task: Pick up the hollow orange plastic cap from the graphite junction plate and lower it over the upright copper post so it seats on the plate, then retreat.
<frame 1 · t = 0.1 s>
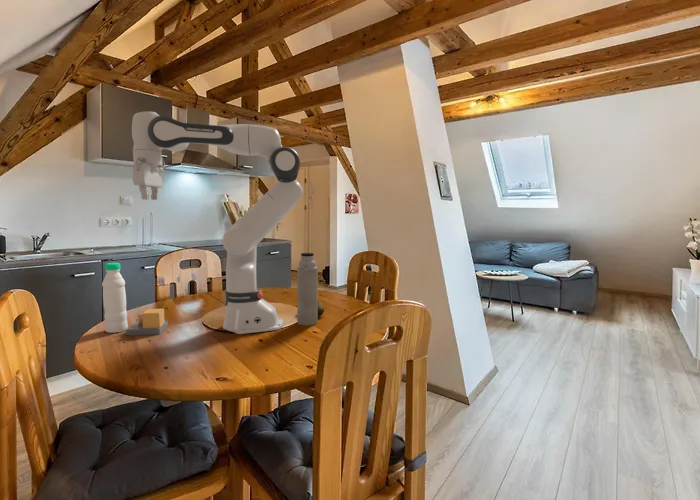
hand: (150, 199, 133), 48 cm above the table, fingers open, 8 cm apart
thermos bottle: (307, 322, 149), on the table
orange cap: (154, 325, 137), point 2 cm above the table, touching junction plate
junction plate: (148, 330, 138), on the table
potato: (312, 314, 161), on the table
white milk bottle: (116, 330, 137), on the table
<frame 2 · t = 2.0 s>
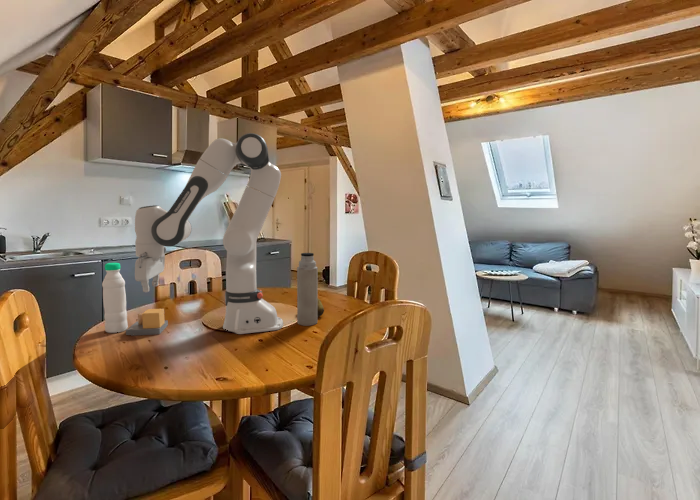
hand: (150, 288, 135), 16 cm above the table, fingers open, 8 cm apart
nothing on the table moved.
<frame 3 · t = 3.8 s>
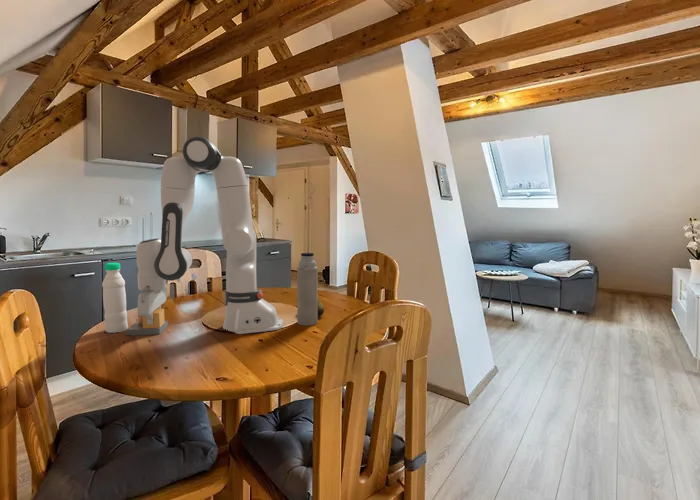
hand: (153, 320, 137), 4 cm above the table, fingers closed on orange cap, 6 cm apart
orange cap: (154, 325, 137), point 2 cm above the table, touching gripper, junction plate
everything else where it was.
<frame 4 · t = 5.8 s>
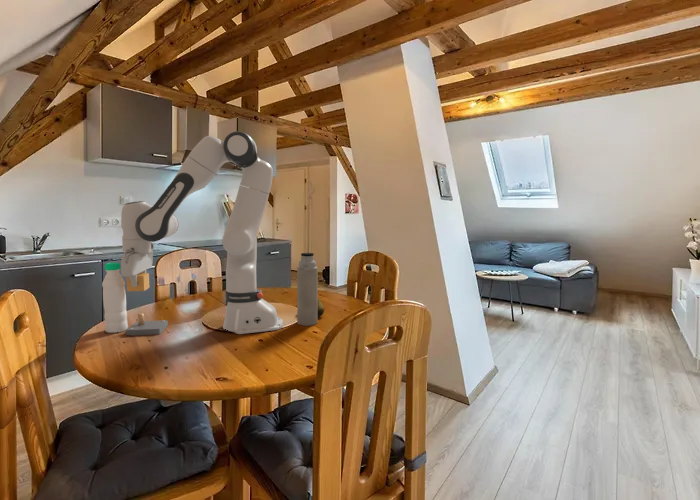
hand: (138, 284, 136), 17 cm above the table, fingers closed on orange cap, 6 cm apart
orange cap: (138, 289, 136), point 15 cm above the table, touching gripper
everything else where it was.
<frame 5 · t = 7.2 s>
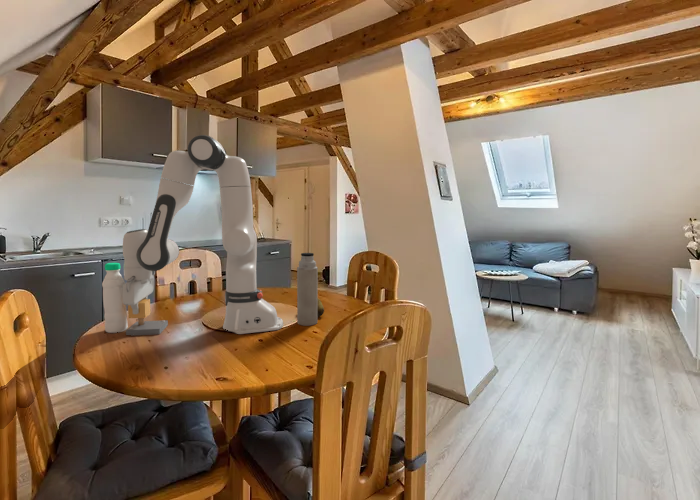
hand: (139, 310, 137), 7 cm above the table, fingers closed on orange cap, 6 cm apart
orange cap: (139, 315, 138), point 5 cm above the table, touching gripper
everything else where it was.
when the fingers open (5 cm above the table, at t = 8.1 s): orange cap stays where it is, resting on junction plate.
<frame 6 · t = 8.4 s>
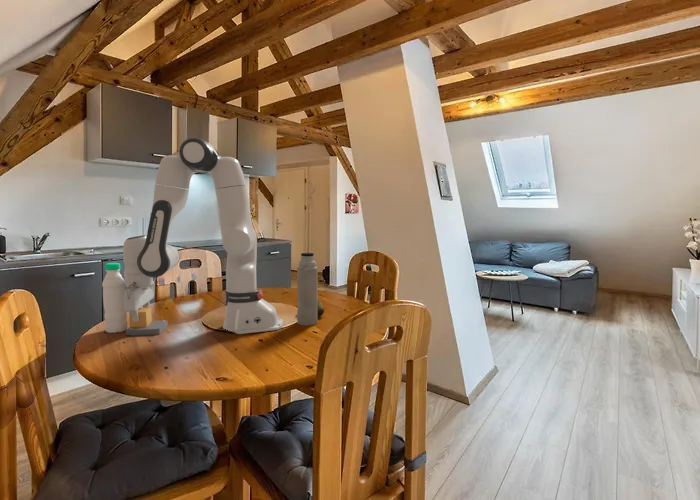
hand: (141, 316, 138), 5 cm above the table, fingers open, 8 cm apart
orange cap: (141, 324, 138), point 2 cm above the table, touching junction plate
everything else where it was.
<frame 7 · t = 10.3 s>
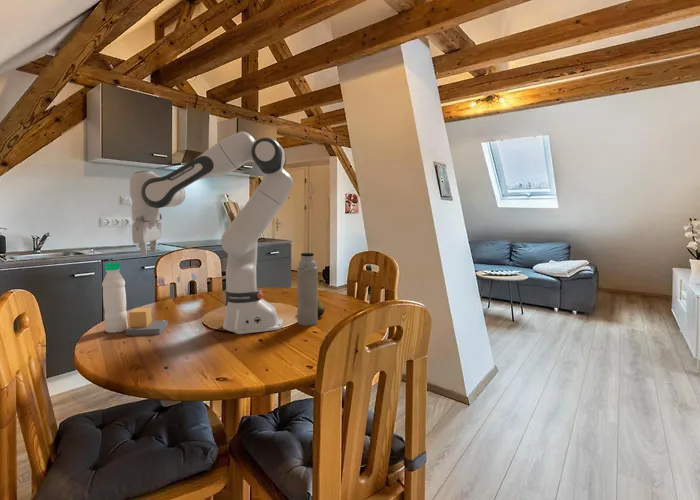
hand: (149, 253, 139), 28 cm above the table, fingers open, 8 cm apart
nothing on the table moved.
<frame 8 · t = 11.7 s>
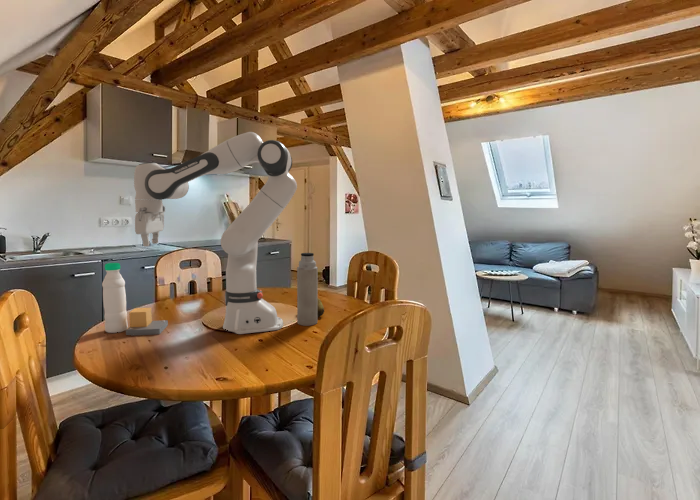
hand: (151, 244, 140), 31 cm above the table, fingers open, 8 cm apart
nothing on the table moved.
at the end: orange cap 0.0 cm from the target spot on the junction plate, point 2.0 cm above the junction plate's base; orange cap tilted 0°; the gripper is holding nothing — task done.
